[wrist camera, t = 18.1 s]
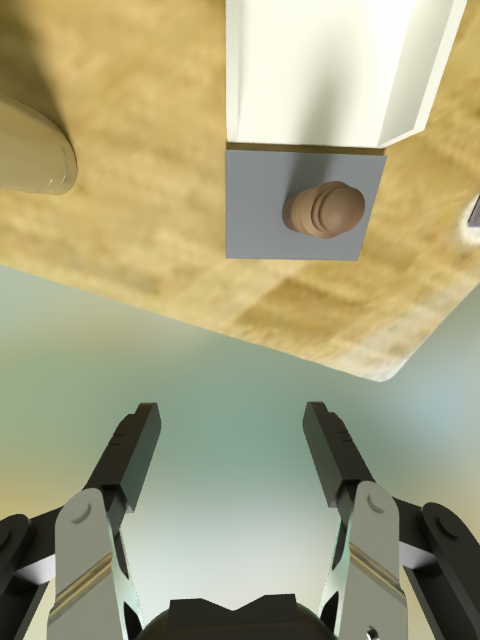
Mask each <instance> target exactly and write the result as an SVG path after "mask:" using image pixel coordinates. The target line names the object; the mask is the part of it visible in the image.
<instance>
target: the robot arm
mask: <svg viewBox="0 0 480 640" xmlns="http://www.w3.org/2000/svg"><path fill="white" fill-rule="evenodd" d="M76 174H77V165H76V159H75V155H74V152H73V150H72V147H71V145H70V143H69V141H68V140H67V138H66V136H65V135H64V134H63V132H62V131H61V130H60V129H59V127H58V126H57V125H55V124H54V123H53V122H52V121H51V120H50V119H49V118H47V117H46V116H44V115H43V114H41V113H39V112H37V111H35V110H33V109H31V108H30V107H28V106H26V105H24V104H22V103H20V102H18V101H16V100H14V99H13V98H11V97H9V96H7V95H5V94H3V93H1V92H0V189H2V190H11V191H20V192H28V193H37V194H46V195H60V194H63V193H65V192H67V191H68V190H70V188H71V187H72V186H73V184H74V182H75V179H76ZM303 430H304V434H305V437H306V440H307V443H308V446H309V449H310V452H311V455H312V458H313V461H314V464H315V467H316V470H317V473H318V476H319V479H320V482H321V485H322V488H323V491H324V494H325V497H326V501H327V504H328V507H329V508H338V511H339V514H340V519H339V524H338V529H337V534H336V539H335V544H334V549H333V553H332V558H331V563H330V568H329V572H328V576H327V579H326V581H325V584H324V588H323V592H322V596H321V600H320V605H319V610H318V615H315V614H314V613H313V612H312V611H311V610H309V609H308V608H306V607H305V606H303V605H301V604H299V603H297V602H296V598H295V594H278V595H264V596H262V597H260V598H258V599H257V600H255V601H253V602H251V603H249V604H247V605H245V606H243V607H241V608H239V609H237V610H234V611H231V610H229V609H226V608H224V607H222V606H219V605H217V604H214V603H212V602H209V601H207V600H204V599H202V598H198V599H179V600H170V607H169V609H167V610H166V611H164V612H162V613H161V614H160V615H158V616H157V617H155V619H153V620H152V621H151V622H150V623H149V624H148V625H147V626H146V627H145V626H144V621H143V617H142V612H141V608H140V603H139V600H138V596H137V593H136V590H135V587H134V584H133V581H132V577H131V573H130V568H129V564H128V559H127V554H126V550H125V545H124V541H123V536H122V531H121V527H120V525H121V523H122V520H123V517H124V514H125V513H134V510H135V507H136V504H137V501H138V498H139V495H140V492H141V489H142V486H143V483H144V480H145V477H146V474H147V471H148V468H149V465H150V462H151V459H152V456H153V453H154V450H155V447H156V444H157V441H158V438H159V435H160V431H161V418H160V414H159V410H158V405H157V403H141V404H140V405H139V406H138V408H137V410H136V412H135V414H128V415H127V416H126V417H125V418H124V419H123V420H122V421H121V422H120V423H119V425H118V427H117V428H116V430H115V432H114V434H113V437H112V438H111V440H110V441H109V444H108V446H107V447H106V449H105V451H104V452H103V454H102V456H101V458H100V460H99V462H98V464H97V465H96V467H95V469H94V471H93V473H92V475H91V477H90V479H89V480H88V482H87V484H86V485H85V487H84V488H83V489H82V491H81V492H79V493H77V494H76V495H75V496H73V497H72V498H71V499H70V500H69V501H68V502H67V503H66V504H65V505H64V506H62V507H60V508H58V509H55V510H52V511H50V512H47V513H45V514H42V515H39V516H37V517H34V518H31V519H28V518H27V517H26V516H25V515H23V514H16V515H12V516H9V517H7V518H5V519H3V520H1V521H0V640H23V638H24V636H25V633H26V631H27V629H28V627H29V625H30V623H31V620H32V618H33V616H34V614H35V612H36V610H37V607H38V605H39V603H40V601H41V599H42V596H43V594H44V592H45V590H46V588H47V586H48V583H49V581H50V580H51V579H53V578H56V599H55V604H54V606H53V608H52V609H51V610H50V613H49V617H48V623H47V640H408V611H407V602H406V597H405V593H404V592H403V590H402V589H401V587H400V583H399V564H401V565H403V568H404V570H405V572H406V574H407V576H408V579H409V581H410V583H411V585H412V588H413V590H414V592H415V594H416V597H417V599H418V601H419V603H420V605H421V608H422V610H423V612H424V614H425V617H426V619H427V621H428V623H429V626H430V628H431V630H432V632H433V635H434V637H435V639H436V640H480V545H479V543H478V542H477V540H476V539H475V538H474V536H473V535H472V533H471V532H470V531H469V529H468V528H467V527H466V525H465V524H464V523H463V522H462V520H461V519H460V518H459V517H458V516H457V515H455V514H454V513H453V512H452V511H450V510H449V509H447V508H445V507H444V506H442V505H440V504H437V503H432V502H429V503H426V504H425V505H424V506H423V507H419V506H416V505H413V504H410V503H408V502H405V501H401V500H399V499H396V498H394V497H392V496H391V495H390V494H389V493H388V492H387V491H386V490H385V489H384V488H383V487H381V486H380V485H378V484H377V483H376V482H375V480H374V479H373V477H372V475H371V473H370V472H369V470H368V468H367V466H366V464H365V462H364V460H363V459H362V457H361V455H360V453H359V451H358V450H357V447H356V446H355V444H354V443H353V441H352V438H351V436H350V434H349V433H348V431H347V429H346V427H345V425H344V423H343V421H342V420H341V419H340V418H339V417H338V416H337V415H336V414H335V413H334V412H330V413H329V412H328V410H327V408H326V406H325V404H324V403H323V402H308V403H307V405H306V409H305V414H304V417H303Z"/></svg>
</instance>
